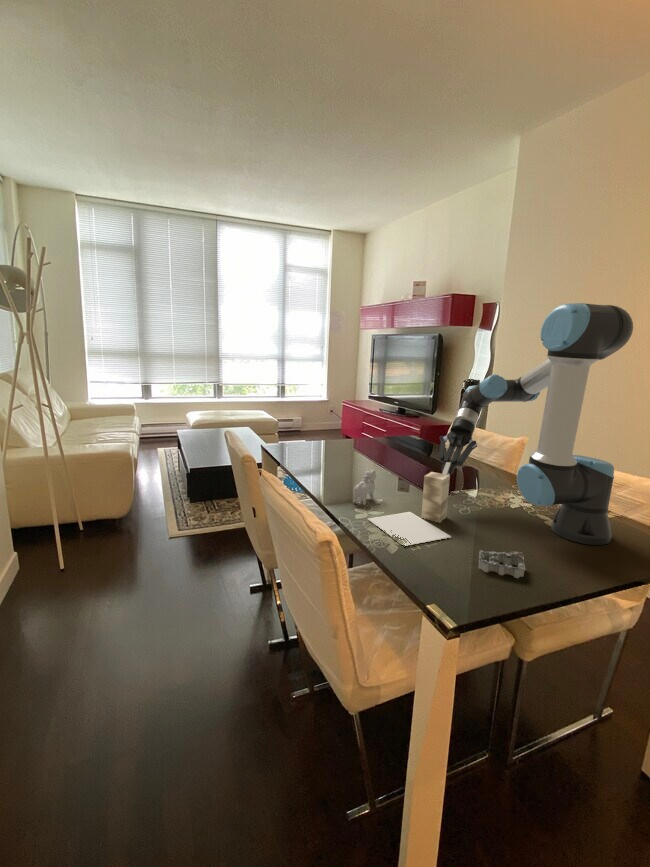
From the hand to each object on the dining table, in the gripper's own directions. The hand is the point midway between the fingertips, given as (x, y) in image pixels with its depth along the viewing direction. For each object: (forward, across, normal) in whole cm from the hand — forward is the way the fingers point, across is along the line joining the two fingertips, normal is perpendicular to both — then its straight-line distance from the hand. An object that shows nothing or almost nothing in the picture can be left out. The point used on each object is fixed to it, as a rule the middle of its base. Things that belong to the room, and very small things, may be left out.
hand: (443, 480), depth 139 cm
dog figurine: (+13, +25, -2) cm, 28 cm away
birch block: (+12, 0, -2) cm, 13 cm away
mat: (+22, +3, +7) cm, 23 cm away
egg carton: (+27, -26, +12) cm, 39 cm away
